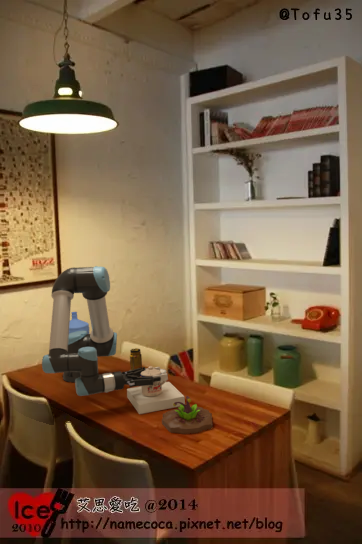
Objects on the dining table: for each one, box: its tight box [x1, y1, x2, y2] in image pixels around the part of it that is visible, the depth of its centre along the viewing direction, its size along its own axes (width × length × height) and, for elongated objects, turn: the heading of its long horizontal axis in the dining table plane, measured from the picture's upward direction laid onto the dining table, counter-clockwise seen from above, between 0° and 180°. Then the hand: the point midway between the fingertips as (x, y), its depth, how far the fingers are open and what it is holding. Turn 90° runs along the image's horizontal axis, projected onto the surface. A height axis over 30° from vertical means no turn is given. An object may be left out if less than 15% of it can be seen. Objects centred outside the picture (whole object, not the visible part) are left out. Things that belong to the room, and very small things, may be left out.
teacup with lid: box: [140, 365, 165, 396], centre depth 207 cm, size 12×9×12 cm
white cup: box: [160, 368, 167, 383], centre depth 227 cm, size 7×7×7 cm
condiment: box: [129, 347, 143, 370], centre depth 248 cm, size 7×8×12 cm
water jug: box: [69, 311, 90, 334], centre depth 271 cm, size 16×16×28 cm
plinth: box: [126, 381, 186, 415], centre depth 208 cm, size 20×20×4 cm
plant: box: [161, 395, 213, 435], centre depth 185 cm, size 20×20×11 cm
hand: (163, 373), depth 208 cm, fingers open, 10 cm apart
